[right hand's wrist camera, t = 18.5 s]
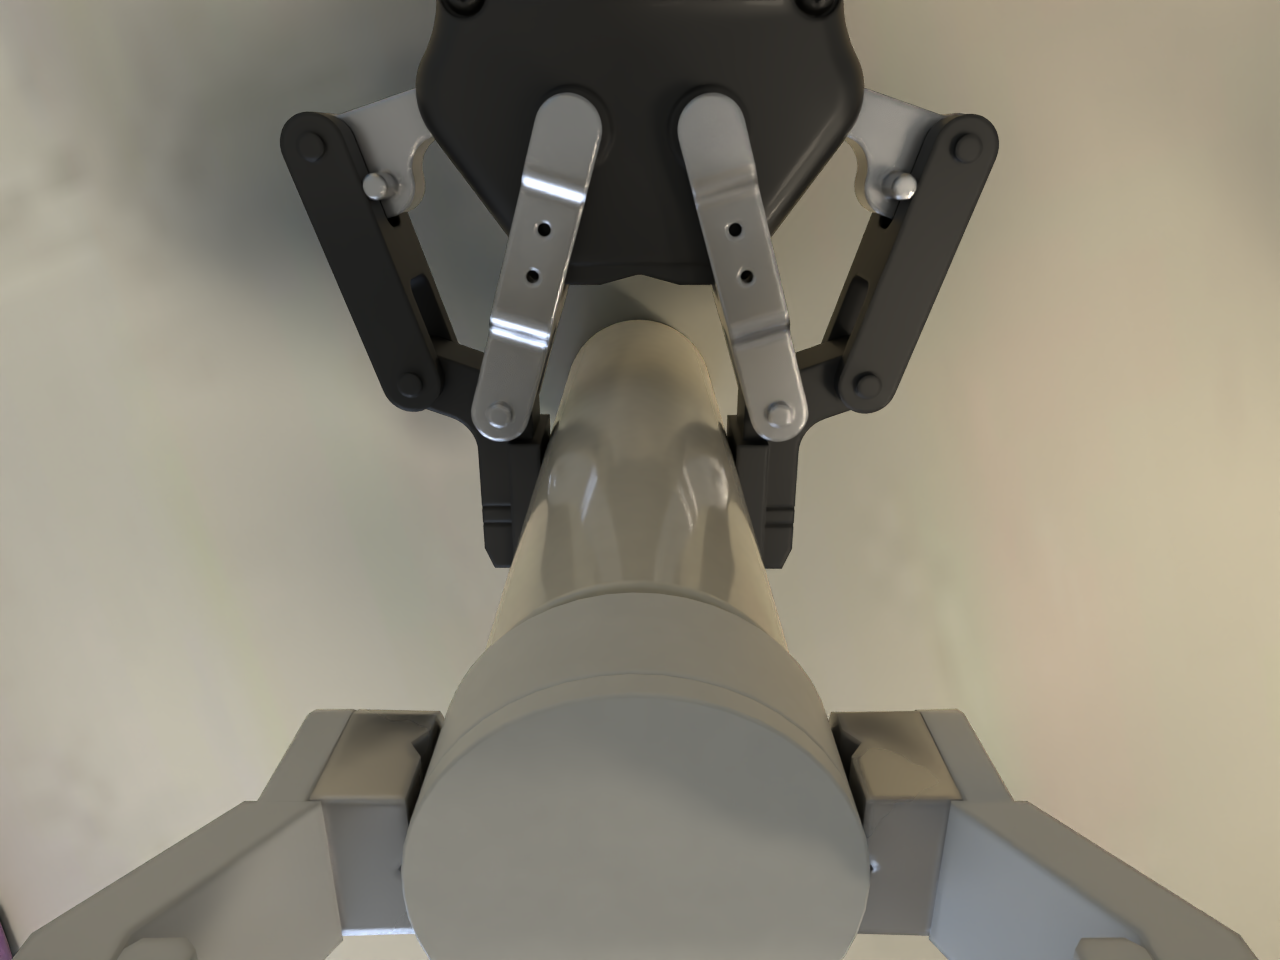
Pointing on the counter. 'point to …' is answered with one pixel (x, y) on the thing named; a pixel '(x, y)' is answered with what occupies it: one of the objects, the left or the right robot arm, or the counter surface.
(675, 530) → the cream cylinder
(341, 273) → the left robot arm
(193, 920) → the right robot arm
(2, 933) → the figurine
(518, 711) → the lid
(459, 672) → the counter surface
